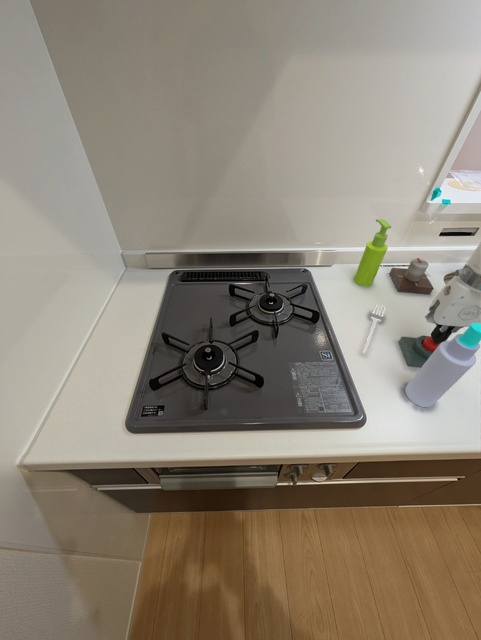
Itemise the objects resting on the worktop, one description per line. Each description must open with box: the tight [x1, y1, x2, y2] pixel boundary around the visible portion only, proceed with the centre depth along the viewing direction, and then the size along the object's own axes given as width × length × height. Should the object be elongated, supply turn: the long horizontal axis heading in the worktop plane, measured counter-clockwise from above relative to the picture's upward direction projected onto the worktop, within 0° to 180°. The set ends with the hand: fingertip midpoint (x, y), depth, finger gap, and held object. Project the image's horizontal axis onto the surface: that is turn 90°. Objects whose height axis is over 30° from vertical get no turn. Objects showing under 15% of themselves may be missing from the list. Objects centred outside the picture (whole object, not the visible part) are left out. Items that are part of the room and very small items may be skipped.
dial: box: [404, 257, 429, 282], centre depth 88 cm, size 5×5×6 cm
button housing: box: [398, 335, 433, 369], centre depth 69 cm, size 10×8×4 cm
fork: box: [362, 303, 386, 354], centre depth 76 cm, size 3×20×2 cm, turn 149°
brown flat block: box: [388, 267, 434, 295], centre depth 91 cm, size 10×10×3 cm
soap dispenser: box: [353, 218, 392, 287], centre depth 86 cm, size 6×7×20 cm
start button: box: [422, 335, 440, 352], centre depth 67 cm, size 4×4×2 cm
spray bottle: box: [404, 323, 481, 408], centre depth 54 cm, size 6×6×22 cm
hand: (436, 339), depth 66 cm, fingers closed
